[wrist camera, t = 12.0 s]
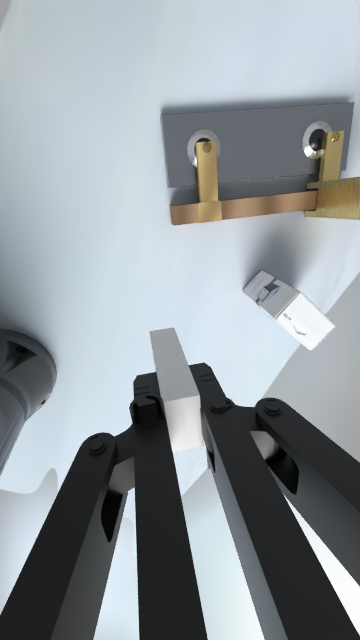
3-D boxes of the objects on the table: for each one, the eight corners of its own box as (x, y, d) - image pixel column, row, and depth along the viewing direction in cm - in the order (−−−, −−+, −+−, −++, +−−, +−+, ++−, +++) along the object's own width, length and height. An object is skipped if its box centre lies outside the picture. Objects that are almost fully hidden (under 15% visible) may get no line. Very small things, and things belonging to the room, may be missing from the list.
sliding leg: (304, 216, 42) (357, 219, 32) (310, 136, 38) (374, 113, 28) (328, 213, 43) (387, 215, 33) (337, 134, 38) (408, 110, 29)
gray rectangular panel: (167, 188, 38) (169, 187, 36) (160, 117, 34) (161, 114, 33) (339, 171, 41) (346, 169, 39) (347, 105, 38) (355, 101, 36)
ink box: (292, 299, 48) (339, 326, 37) (271, 320, 49) (312, 352, 38) (260, 268, 45) (302, 288, 34) (239, 292, 46) (273, 319, 35)
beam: (171, 224, 39) (174, 225, 37) (163, 149, 36) (166, 144, 33) (335, 205, 43) (348, 205, 40) (344, 134, 39) (359, 129, 36)
